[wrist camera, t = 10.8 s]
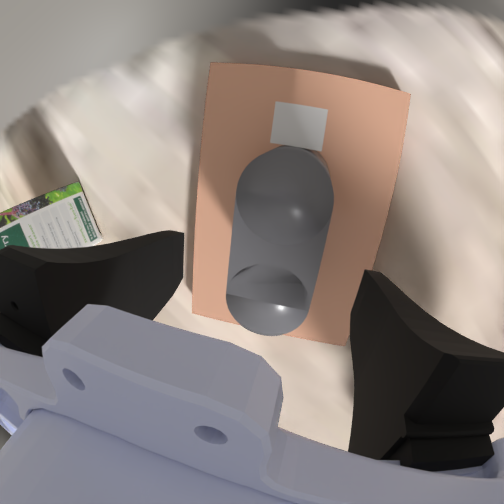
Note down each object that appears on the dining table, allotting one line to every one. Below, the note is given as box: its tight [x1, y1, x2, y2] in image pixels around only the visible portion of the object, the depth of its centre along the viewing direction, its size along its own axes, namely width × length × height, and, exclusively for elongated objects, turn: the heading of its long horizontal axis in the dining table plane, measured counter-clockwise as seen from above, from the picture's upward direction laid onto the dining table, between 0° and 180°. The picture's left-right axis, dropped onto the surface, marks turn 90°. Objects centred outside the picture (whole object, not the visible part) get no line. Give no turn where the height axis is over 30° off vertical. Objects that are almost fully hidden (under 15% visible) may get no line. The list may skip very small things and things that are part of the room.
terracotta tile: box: [192, 62, 411, 346], centre depth 19 cm, size 18×12×2 cm, turn 174°
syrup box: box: [0, 182, 103, 250], centre depth 18 cm, size 6×6×14 cm
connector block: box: [226, 101, 334, 336], centre depth 15 cm, size 11×4×6 cm, turn 174°
